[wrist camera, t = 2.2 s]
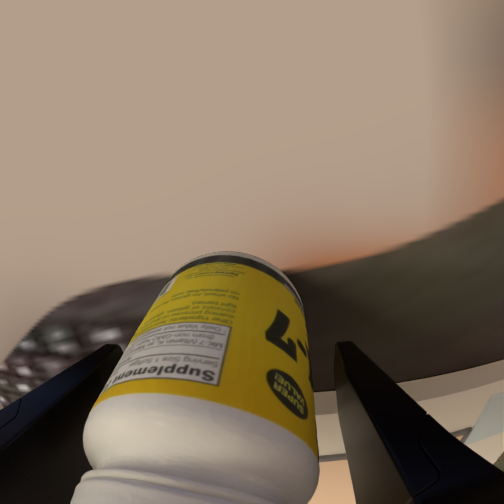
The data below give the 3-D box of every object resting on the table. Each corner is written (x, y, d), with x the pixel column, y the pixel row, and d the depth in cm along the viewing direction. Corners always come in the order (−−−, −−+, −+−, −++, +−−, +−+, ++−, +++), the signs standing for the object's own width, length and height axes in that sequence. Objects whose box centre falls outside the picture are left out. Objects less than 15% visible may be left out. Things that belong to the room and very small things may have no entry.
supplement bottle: (313, 355, 11) (330, 593, 3) (190, 371, 12) (131, 577, 4) (288, 231, 9) (309, 569, 2) (143, 261, 10) (-18, 489, 2)
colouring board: (551, 343, 10) (564, 359, 9) (467, 477, 16) (472, 490, 15) (244, 395, 12) (241, 421, 11) (266, 511, 17) (265, 526, 16)
